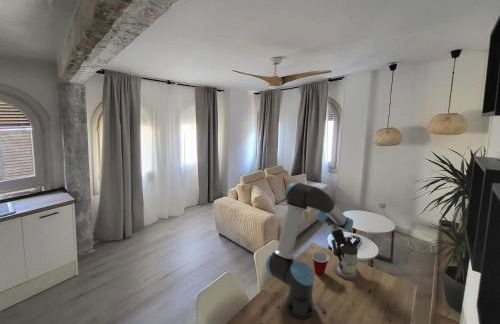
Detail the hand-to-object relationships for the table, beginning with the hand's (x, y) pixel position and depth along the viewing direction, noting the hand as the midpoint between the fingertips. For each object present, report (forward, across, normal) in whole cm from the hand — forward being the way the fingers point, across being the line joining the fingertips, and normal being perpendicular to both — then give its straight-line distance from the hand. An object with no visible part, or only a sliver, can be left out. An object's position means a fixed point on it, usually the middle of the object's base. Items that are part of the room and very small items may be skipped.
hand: (351, 264), depth 150 cm
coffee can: (+2, 0, -6) cm, 6 cm away
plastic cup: (0, +18, -11) cm, 21 cm away
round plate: (+3, 0, -7) cm, 8 cm away
